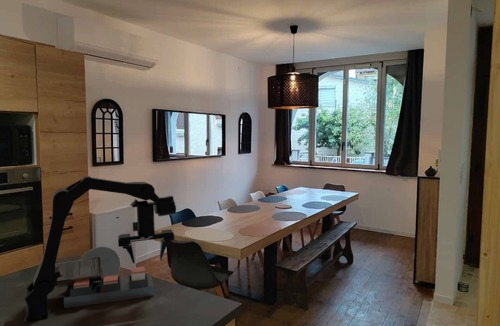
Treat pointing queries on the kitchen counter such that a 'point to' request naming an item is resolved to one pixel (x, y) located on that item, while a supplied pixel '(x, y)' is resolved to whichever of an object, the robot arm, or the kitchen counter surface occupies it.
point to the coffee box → (79, 271)
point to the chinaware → (105, 260)
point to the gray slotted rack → (108, 292)
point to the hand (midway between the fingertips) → (147, 261)
